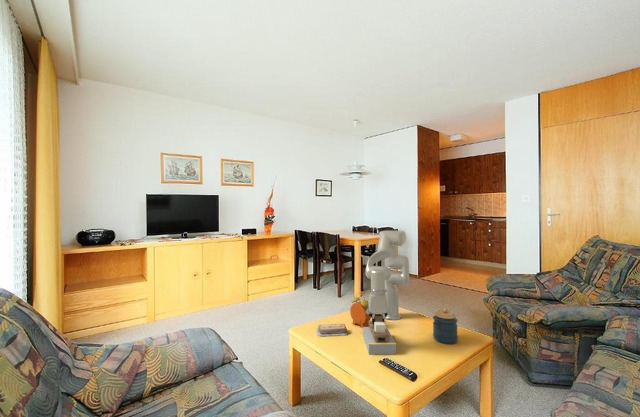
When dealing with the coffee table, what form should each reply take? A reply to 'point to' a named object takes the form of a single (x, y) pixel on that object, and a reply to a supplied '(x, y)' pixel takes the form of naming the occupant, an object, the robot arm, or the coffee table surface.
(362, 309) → the alarm clock
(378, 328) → the block
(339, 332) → the packaged product
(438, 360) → the coffee table surface
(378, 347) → the dock
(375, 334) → the brown open frame
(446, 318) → the canister
